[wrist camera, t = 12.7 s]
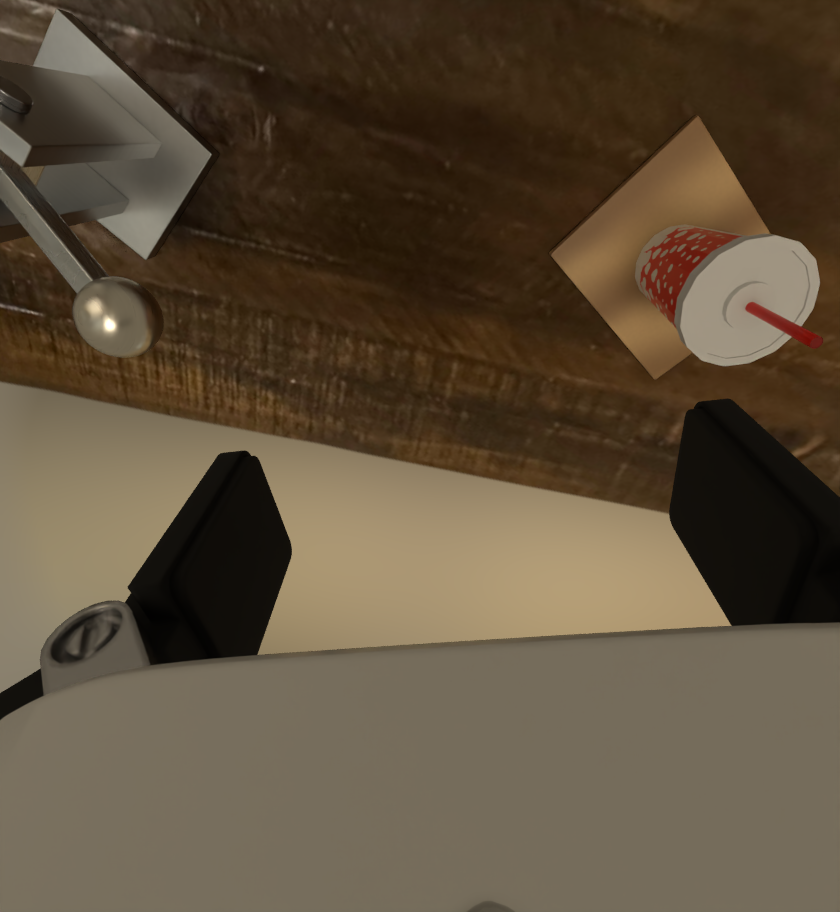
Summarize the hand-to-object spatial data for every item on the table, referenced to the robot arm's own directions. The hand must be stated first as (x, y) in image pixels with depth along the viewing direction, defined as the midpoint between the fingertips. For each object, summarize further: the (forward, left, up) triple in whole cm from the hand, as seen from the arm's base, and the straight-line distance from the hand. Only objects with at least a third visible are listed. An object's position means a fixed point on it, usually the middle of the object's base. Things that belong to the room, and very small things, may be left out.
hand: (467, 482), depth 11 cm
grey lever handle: (-13, -9, -14) cm, 22 cm away
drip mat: (+10, +10, -25) cm, 28 cm away
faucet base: (-18, -9, -25) cm, 32 cm away
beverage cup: (+10, +10, -24) cm, 28 cm away
